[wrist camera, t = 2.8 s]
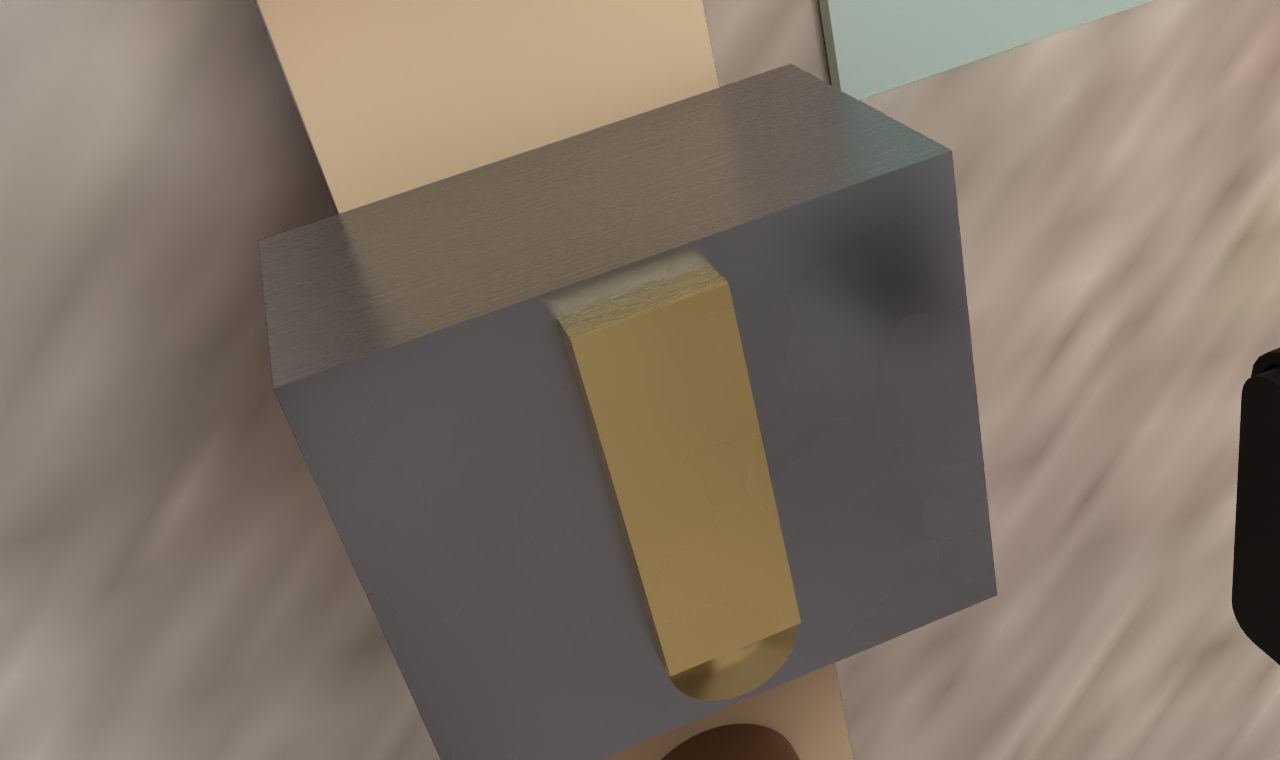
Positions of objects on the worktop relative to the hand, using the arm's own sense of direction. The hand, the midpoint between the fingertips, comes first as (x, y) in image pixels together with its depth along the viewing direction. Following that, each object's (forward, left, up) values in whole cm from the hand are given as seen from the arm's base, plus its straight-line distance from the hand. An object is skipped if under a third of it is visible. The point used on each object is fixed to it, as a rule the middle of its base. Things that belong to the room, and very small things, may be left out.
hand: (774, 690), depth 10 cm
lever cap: (0, 0, -7) cm, 7 cm away
